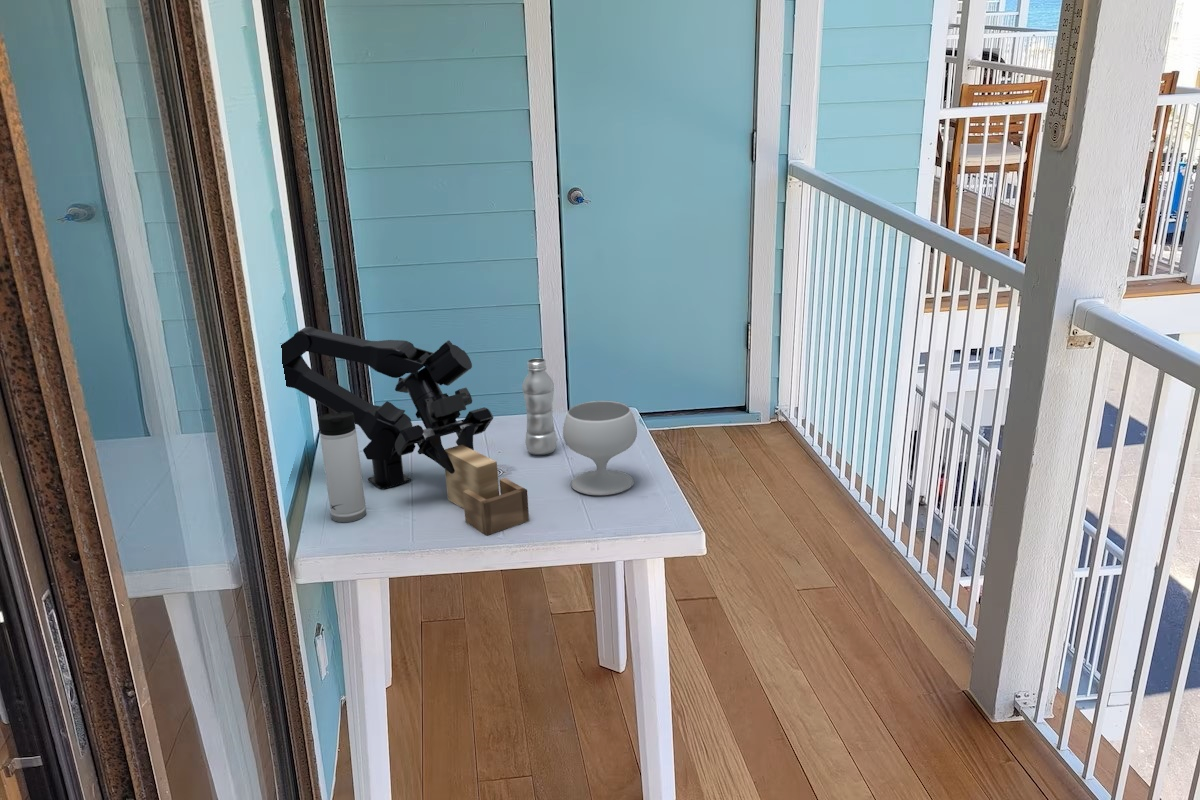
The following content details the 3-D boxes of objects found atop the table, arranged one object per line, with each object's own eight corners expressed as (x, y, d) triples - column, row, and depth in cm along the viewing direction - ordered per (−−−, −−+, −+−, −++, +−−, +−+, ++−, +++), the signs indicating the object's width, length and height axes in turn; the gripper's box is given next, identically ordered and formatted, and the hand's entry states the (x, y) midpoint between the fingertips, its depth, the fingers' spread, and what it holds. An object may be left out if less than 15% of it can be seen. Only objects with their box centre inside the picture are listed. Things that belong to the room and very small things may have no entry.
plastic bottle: (519, 453, 209) (513, 361, 203) (545, 444, 213) (539, 354, 207) (538, 460, 205) (532, 367, 198) (564, 452, 209) (559, 360, 203)
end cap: (465, 522, 178) (462, 491, 176) (507, 508, 183) (505, 478, 181) (486, 535, 172) (484, 503, 171) (529, 520, 177) (527, 489, 176)
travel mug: (332, 526, 179) (317, 420, 173) (330, 511, 185) (316, 409, 179) (367, 520, 180) (354, 415, 174) (365, 506, 186) (352, 404, 180)
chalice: (653, 485, 190) (651, 410, 186) (595, 505, 182) (591, 428, 178) (608, 465, 201) (605, 394, 196) (551, 483, 193) (547, 410, 188)
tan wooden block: (447, 499, 188) (443, 449, 185) (466, 493, 190) (461, 444, 187) (481, 519, 179) (477, 467, 176) (500, 513, 181) (496, 461, 178)
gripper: (395, 387, 178) (431, 462, 173) (484, 366, 189) (521, 436, 184) (379, 419, 186) (413, 491, 181) (466, 396, 197) (500, 464, 192)
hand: (463, 469), depth 184 cm, fingers closed on tan wooden block, 4 cm apart
